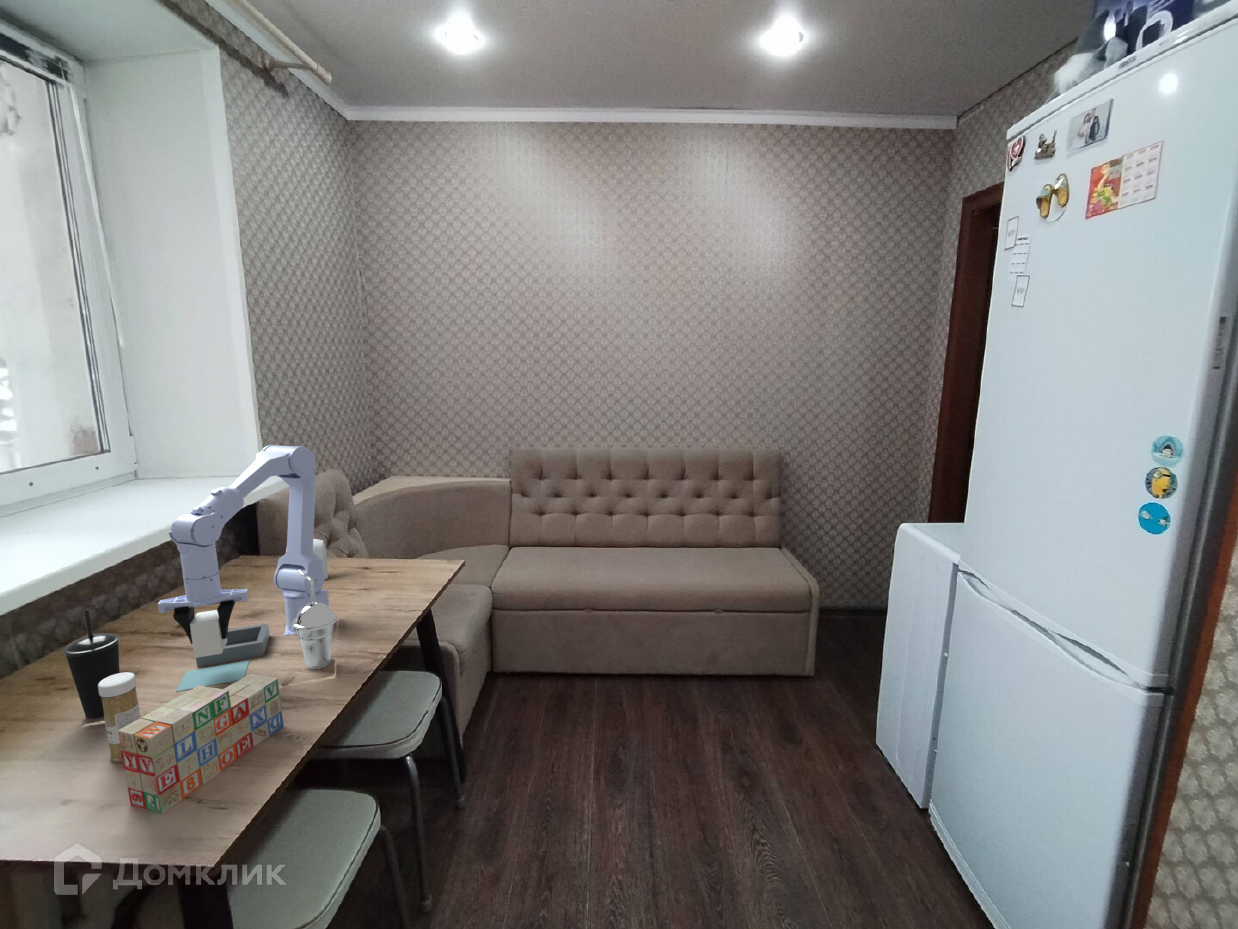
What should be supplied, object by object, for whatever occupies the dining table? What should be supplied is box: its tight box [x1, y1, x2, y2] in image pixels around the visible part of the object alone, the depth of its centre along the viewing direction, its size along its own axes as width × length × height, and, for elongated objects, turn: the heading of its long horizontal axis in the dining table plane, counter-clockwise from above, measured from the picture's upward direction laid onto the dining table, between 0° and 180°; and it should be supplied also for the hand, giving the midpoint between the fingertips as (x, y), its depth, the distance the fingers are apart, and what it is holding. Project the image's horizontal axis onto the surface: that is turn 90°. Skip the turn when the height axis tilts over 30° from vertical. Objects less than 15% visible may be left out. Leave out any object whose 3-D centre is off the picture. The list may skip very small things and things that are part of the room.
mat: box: [175, 660, 250, 693], centre depth 119 cm, size 11×8×1 cm
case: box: [195, 623, 270, 668], centre depth 129 cm, size 12×10×4 cm
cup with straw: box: [292, 570, 338, 670], centre depth 123 cm, size 8×9×20 cm
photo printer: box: [285, 538, 329, 580], centre depth 171 cm, size 10×4×12 cm, turn 110°
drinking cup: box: [62, 608, 121, 719], centre depth 106 cm, size 8×8×20 cm
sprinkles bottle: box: [98, 671, 142, 763], centre depth 95 cm, size 5×5×14 cm
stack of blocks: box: [118, 673, 284, 815], centre depth 94 cm, size 21×6×12 cm, turn 164°
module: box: [190, 609, 227, 659], centre depth 118 cm, size 4×6×7 cm
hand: (209, 639), depth 118 cm, fingers closed on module, 4 cm apart
